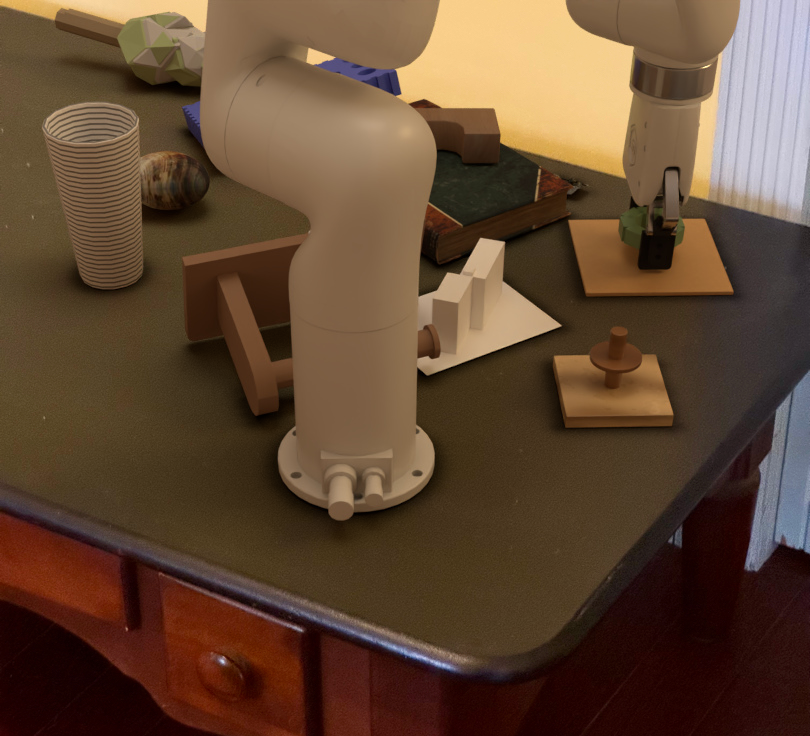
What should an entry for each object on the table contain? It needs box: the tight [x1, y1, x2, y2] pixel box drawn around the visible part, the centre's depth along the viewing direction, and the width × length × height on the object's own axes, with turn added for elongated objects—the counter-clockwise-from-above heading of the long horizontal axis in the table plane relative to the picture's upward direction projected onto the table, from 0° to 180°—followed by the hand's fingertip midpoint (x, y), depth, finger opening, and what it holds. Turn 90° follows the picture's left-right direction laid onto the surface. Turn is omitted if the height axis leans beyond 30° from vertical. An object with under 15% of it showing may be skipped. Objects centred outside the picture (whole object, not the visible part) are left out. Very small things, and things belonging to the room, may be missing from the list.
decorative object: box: [54, 7, 205, 87], centre depth 169 cm, size 9×10×25 cm
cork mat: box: [567, 218, 734, 297], centre depth 142 cm, size 14×14×1 cm
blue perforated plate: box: [181, 57, 402, 150], centre depth 157 cm, size 25×24×3 cm
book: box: [408, 98, 574, 265], centre depth 150 cm, size 17×4×25 cm
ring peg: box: [552, 326, 674, 429], centre depth 122 cm, size 9×9×7 cm
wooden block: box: [414, 107, 502, 163], centre depth 149 cm, size 7×3×15 cm
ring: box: [618, 207, 685, 250], centre depth 140 cm, size 6×6×2 cm
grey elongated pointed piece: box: [552, 172, 590, 195], centre depth 152 cm, size 6×2×3 cm
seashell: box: [140, 150, 211, 211], centre depth 146 cm, size 10×6×8 cm
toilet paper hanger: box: [181, 218, 441, 417], centre depth 124 cm, size 22×13×10 cm, turn 111°
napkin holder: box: [417, 238, 563, 376], centre depth 131 cm, size 15×11×6 cm
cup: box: [41, 101, 144, 290], centre depth 133 cm, size 8×8×16 cm
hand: (648, 249), depth 141 cm, fingers closed on ring, 5 cm apart
